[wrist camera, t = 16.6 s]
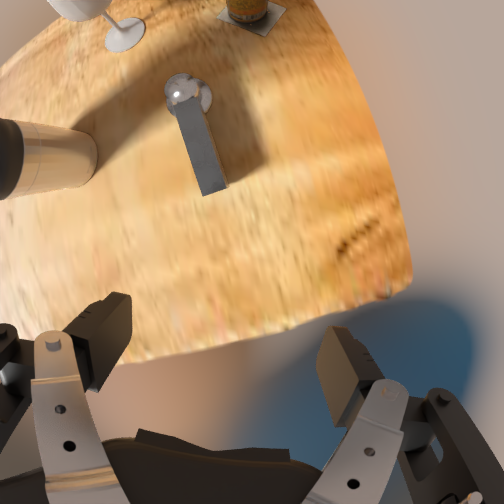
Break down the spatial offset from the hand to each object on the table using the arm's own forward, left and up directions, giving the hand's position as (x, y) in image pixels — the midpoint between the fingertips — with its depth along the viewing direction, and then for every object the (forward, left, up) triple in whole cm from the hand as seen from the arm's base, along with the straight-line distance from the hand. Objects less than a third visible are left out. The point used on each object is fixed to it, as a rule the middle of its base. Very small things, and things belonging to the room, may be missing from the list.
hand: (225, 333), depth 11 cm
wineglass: (-24, +28, -30) cm, 48 cm away
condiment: (-4, +33, -30) cm, 45 cm away
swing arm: (-7, +11, -29) cm, 31 cm away
